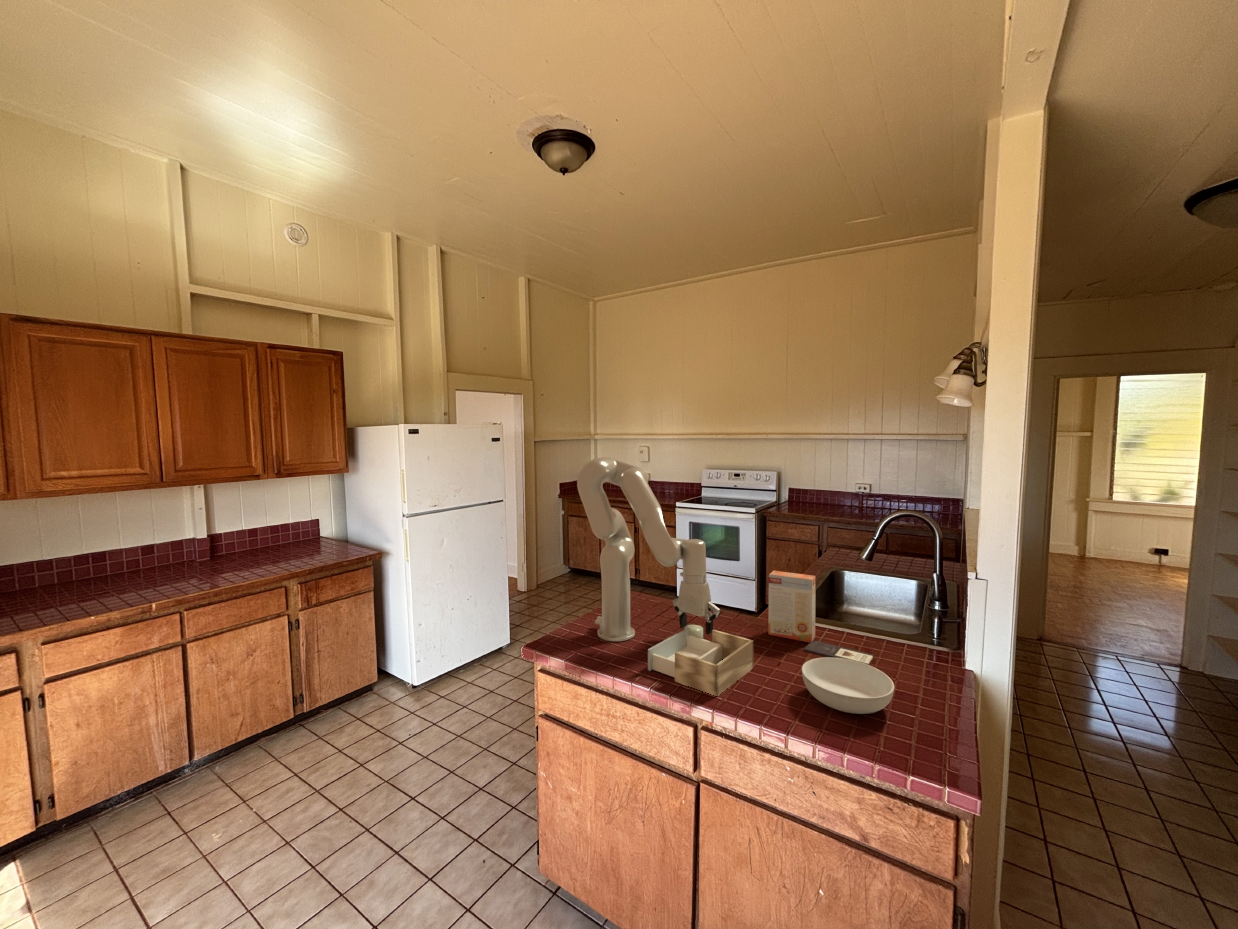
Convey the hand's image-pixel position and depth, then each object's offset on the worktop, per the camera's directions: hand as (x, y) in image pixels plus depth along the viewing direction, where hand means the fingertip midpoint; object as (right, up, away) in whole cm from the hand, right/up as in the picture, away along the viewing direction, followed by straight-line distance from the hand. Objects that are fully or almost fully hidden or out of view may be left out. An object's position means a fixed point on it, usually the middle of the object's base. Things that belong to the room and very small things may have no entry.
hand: (696, 630), depth 160 cm
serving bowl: (+32, -6, -37) cm, 49 cm away
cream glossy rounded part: (-1, -4, 0) cm, 4 cm away
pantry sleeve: (+1, -5, -22) cm, 23 cm away
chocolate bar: (+42, -5, -9) cm, 43 cm away
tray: (-5, -5, -17) cm, 18 cm away
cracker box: (+32, -4, +4) cm, 33 cm away
